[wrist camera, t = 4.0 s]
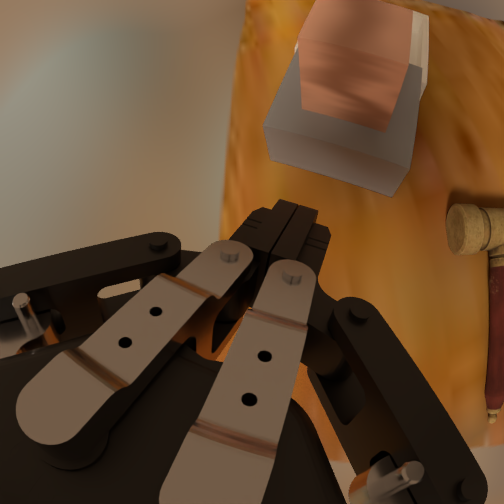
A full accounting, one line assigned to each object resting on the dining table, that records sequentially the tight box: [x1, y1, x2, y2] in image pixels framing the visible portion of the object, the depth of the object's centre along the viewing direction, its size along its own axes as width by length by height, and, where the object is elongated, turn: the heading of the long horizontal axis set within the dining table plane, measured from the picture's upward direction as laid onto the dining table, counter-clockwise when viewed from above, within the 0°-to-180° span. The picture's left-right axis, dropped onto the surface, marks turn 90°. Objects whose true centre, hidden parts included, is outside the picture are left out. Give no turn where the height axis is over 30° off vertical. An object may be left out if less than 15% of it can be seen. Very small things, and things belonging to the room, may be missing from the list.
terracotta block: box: [297, 0, 413, 133], centre depth 20 cm, size 7×7×8 cm
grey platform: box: [263, 48, 422, 197], centre depth 27 cm, size 12×12×6 cm
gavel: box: [446, 203, 504, 423], centre depth 23 cm, size 21×5×10 cm
